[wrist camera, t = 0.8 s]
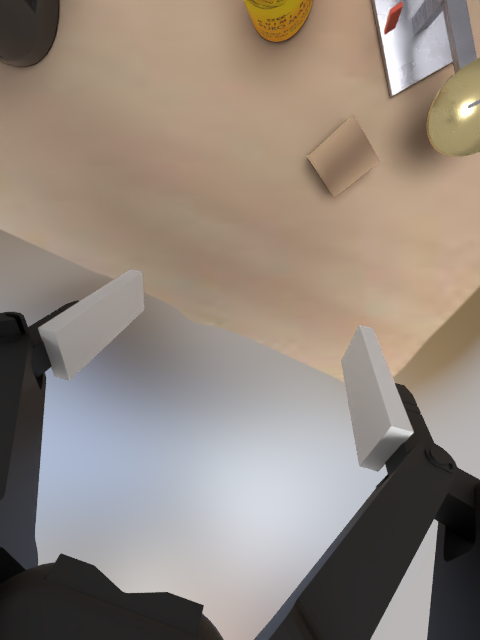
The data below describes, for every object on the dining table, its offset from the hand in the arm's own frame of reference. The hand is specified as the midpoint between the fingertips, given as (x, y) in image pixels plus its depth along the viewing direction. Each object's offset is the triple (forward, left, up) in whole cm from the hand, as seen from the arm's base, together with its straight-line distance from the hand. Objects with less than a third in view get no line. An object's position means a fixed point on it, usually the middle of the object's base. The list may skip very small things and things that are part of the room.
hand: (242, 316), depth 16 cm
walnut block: (-5, +9, -24) cm, 26 cm away
